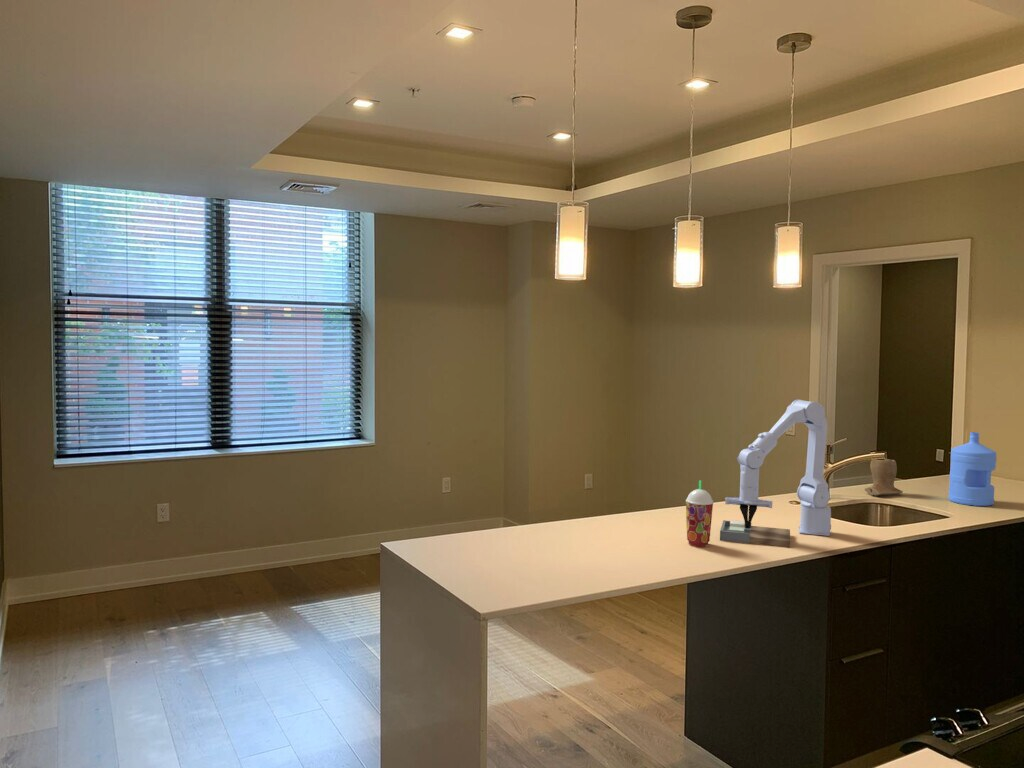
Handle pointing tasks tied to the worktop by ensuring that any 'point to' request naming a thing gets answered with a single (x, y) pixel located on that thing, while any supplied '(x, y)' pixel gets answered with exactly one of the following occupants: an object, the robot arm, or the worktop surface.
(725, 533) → the slate tray
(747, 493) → the robot arm
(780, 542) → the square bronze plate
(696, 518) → the smoothie
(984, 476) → the water jug
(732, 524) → the cream tile
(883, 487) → the stone cup
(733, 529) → the sage tile
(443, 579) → the worktop surface
